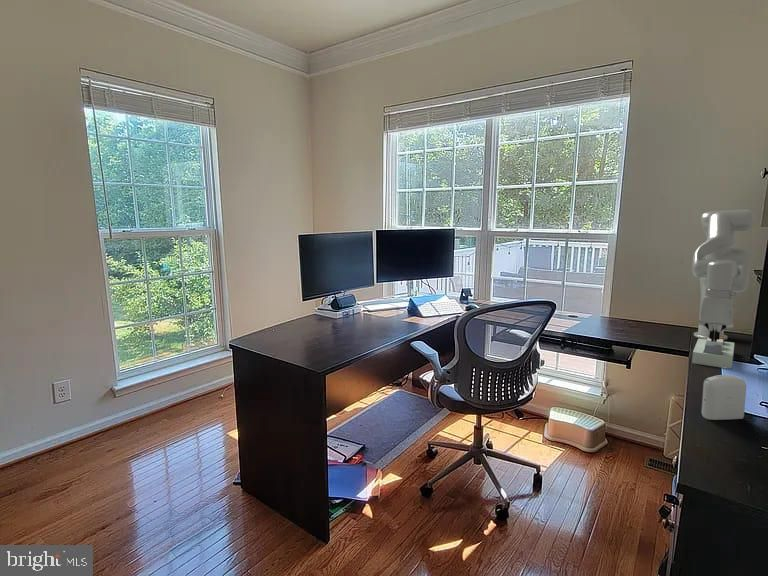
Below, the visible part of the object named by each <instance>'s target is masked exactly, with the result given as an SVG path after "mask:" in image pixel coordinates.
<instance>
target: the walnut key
mask: <svg viewBox="0 0 768 576" xmlns="http://www.w3.org/2000/svg"><path fill="white" fill-rule="evenodd" d="M709 335H710V334H709ZM709 335H708V338H709ZM724 335H725V334H724ZM724 335H720V336H719V339H723V342H725V340H724ZM714 337H715V334H714Z"/></svg>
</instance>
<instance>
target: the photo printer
mask: <svg viewBox="0 0 768 576" xmlns="http://www.w3.org/2000/svg"><path fill="white" fill-rule="evenodd" d="M702 385H703V387H702V400H701V411H700V412H701V415H702V417H703V418H704V419H706V420H710V421H711V420H713V421H719V420H721V421H723V420H724V421H725V420H726V421H727V420H743V419H744V418H745V417H744V416H745V409H746V408H745V407H746V406H745V405H746V398H747V396H746V395H747V383H746V380H744V379H743V378H741V377H740V376H736V375H731V374H719V375H713V376H709V377H707V378H705V379H704V381H703V383H702Z"/></svg>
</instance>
